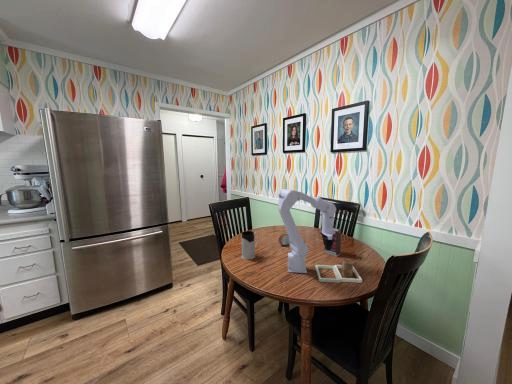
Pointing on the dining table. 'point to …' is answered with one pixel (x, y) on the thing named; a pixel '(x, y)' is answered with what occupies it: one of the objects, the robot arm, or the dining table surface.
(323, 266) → the pale green rectangular frame
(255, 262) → the dining table surface
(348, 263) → the block
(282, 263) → the dining table surface
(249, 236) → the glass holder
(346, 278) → the tray
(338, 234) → the supplement box
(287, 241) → the tin
